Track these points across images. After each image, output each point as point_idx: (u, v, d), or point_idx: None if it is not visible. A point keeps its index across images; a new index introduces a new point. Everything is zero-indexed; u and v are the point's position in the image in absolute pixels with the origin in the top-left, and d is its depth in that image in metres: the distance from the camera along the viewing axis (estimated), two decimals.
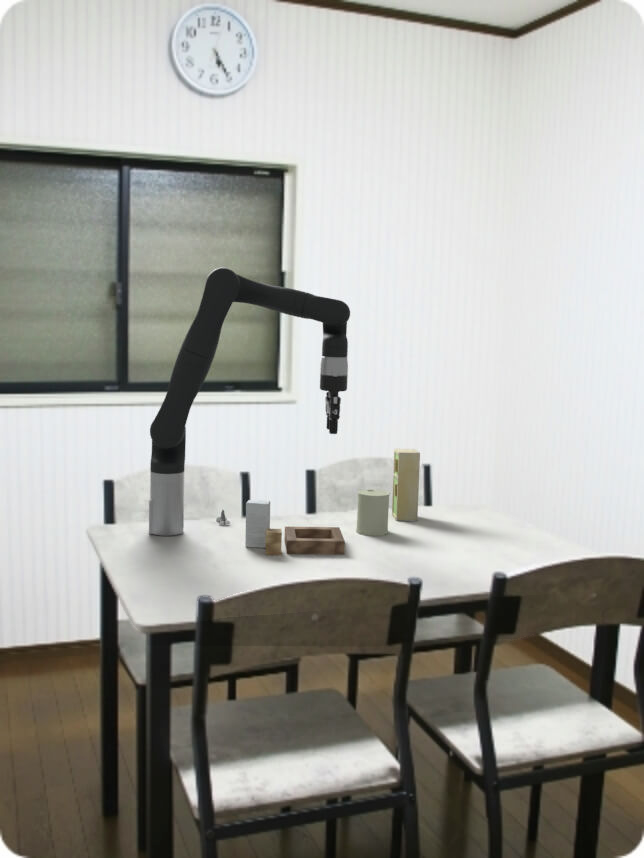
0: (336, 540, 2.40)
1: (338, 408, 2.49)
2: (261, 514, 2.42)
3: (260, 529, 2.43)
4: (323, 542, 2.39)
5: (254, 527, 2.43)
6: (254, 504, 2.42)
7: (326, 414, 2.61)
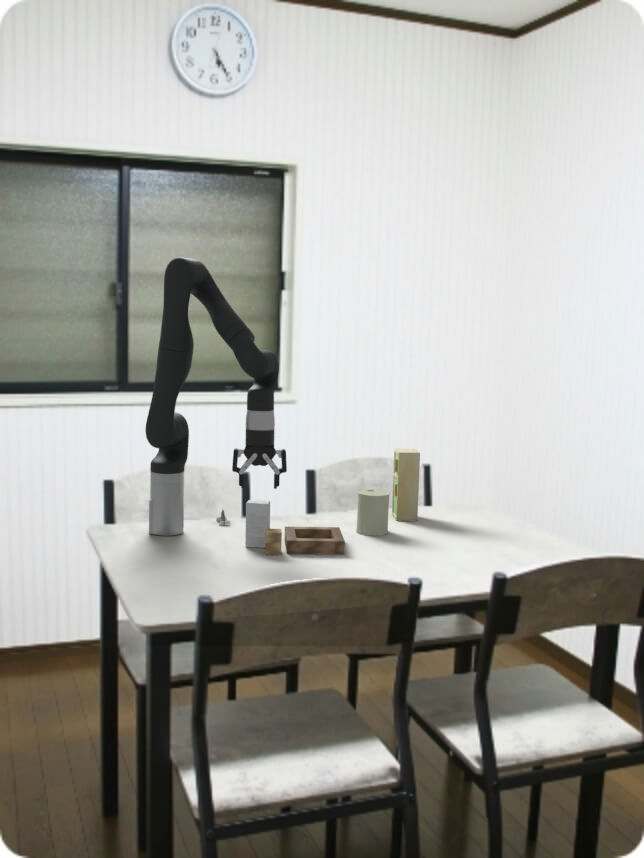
0: (336, 540, 2.40)
1: None
2: (261, 514, 2.42)
3: (260, 529, 2.43)
4: (323, 542, 2.39)
5: (254, 527, 2.43)
6: (254, 504, 2.42)
7: (239, 473, 2.42)
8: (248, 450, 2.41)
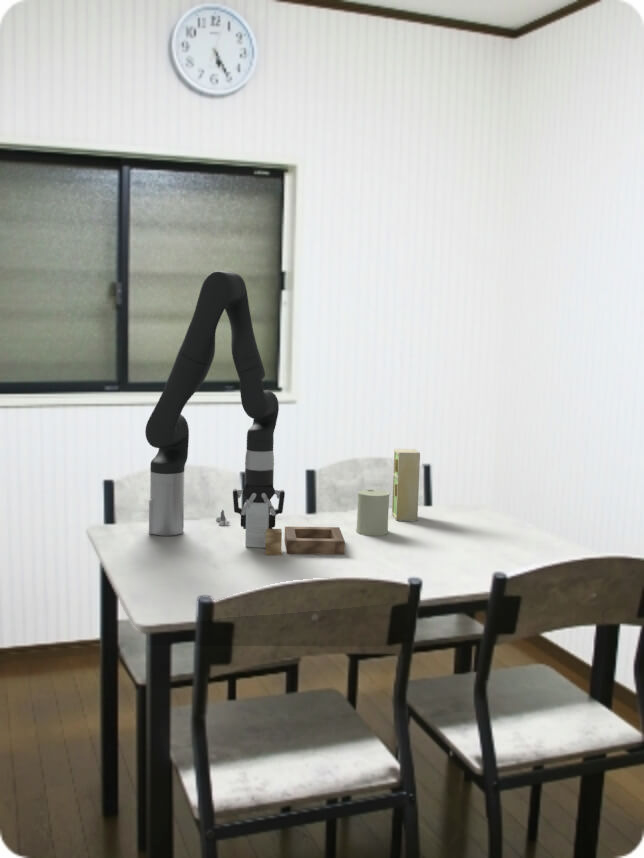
0: (336, 540, 2.40)
1: None
2: (261, 514, 2.42)
3: (260, 529, 2.43)
4: (323, 542, 2.39)
5: (254, 527, 2.43)
6: (254, 504, 2.42)
7: (241, 514, 2.43)
8: (247, 489, 2.42)
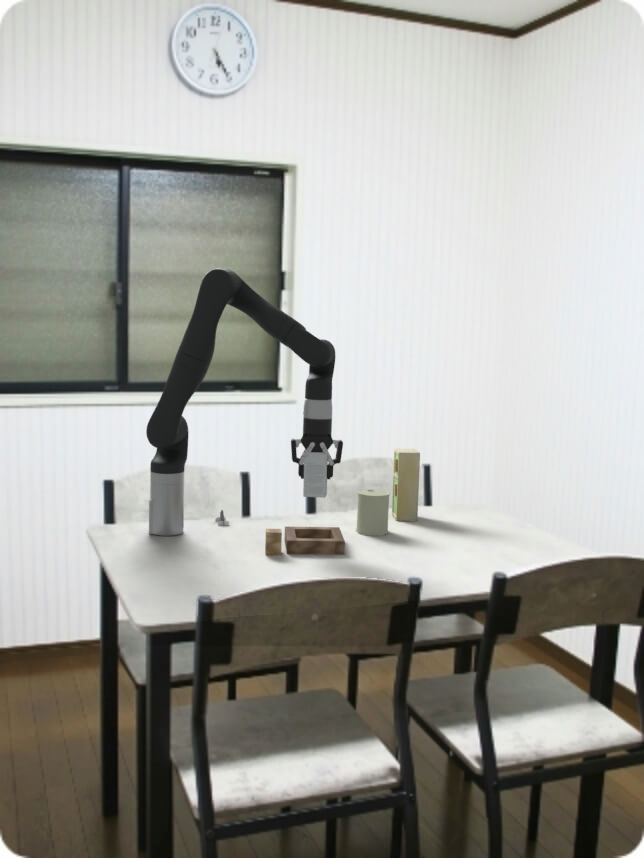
0: (336, 540, 2.40)
1: None
2: (320, 463, 2.42)
3: (318, 478, 2.42)
4: (323, 542, 2.39)
5: (312, 477, 2.42)
6: (312, 453, 2.42)
7: (299, 464, 2.42)
8: (305, 439, 2.42)
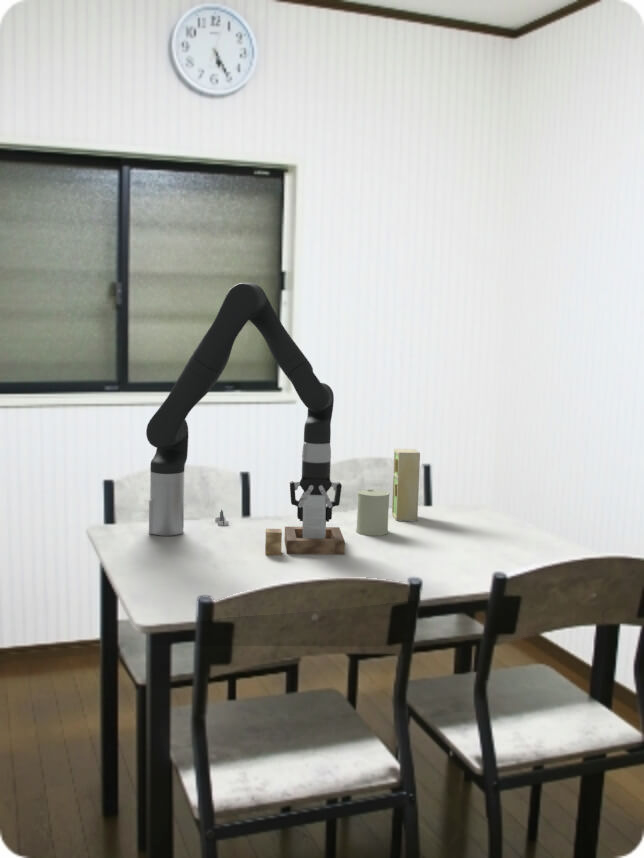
0: (336, 540, 2.40)
1: None
2: (318, 506, 2.43)
3: (317, 521, 2.44)
4: (323, 542, 2.39)
5: (311, 520, 2.44)
6: (311, 496, 2.43)
7: (298, 506, 2.44)
8: (304, 482, 2.43)
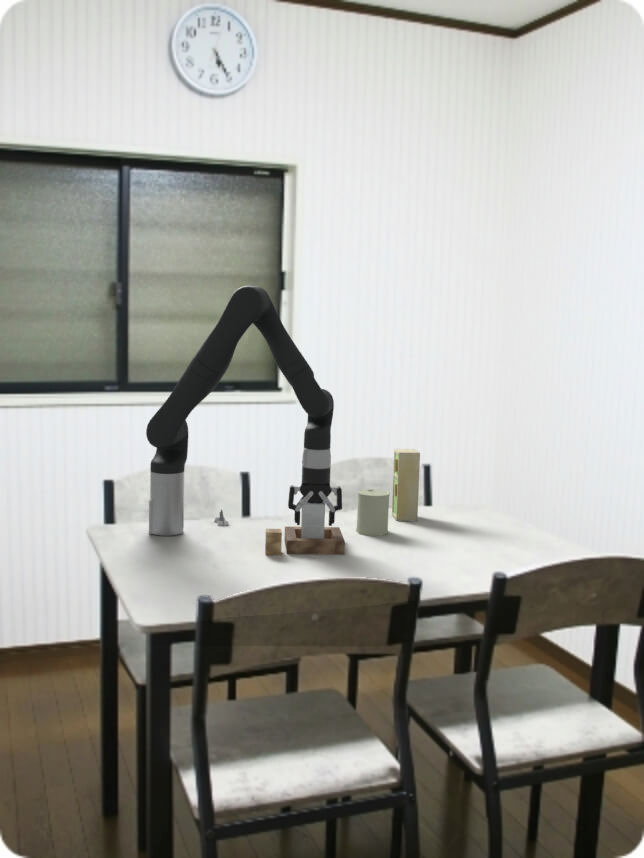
0: (336, 540, 2.40)
1: None
2: (317, 515, 2.44)
3: (316, 529, 2.44)
4: (323, 542, 2.39)
5: (310, 528, 2.44)
6: (310, 505, 2.44)
7: (295, 510, 2.44)
8: (304, 488, 2.44)
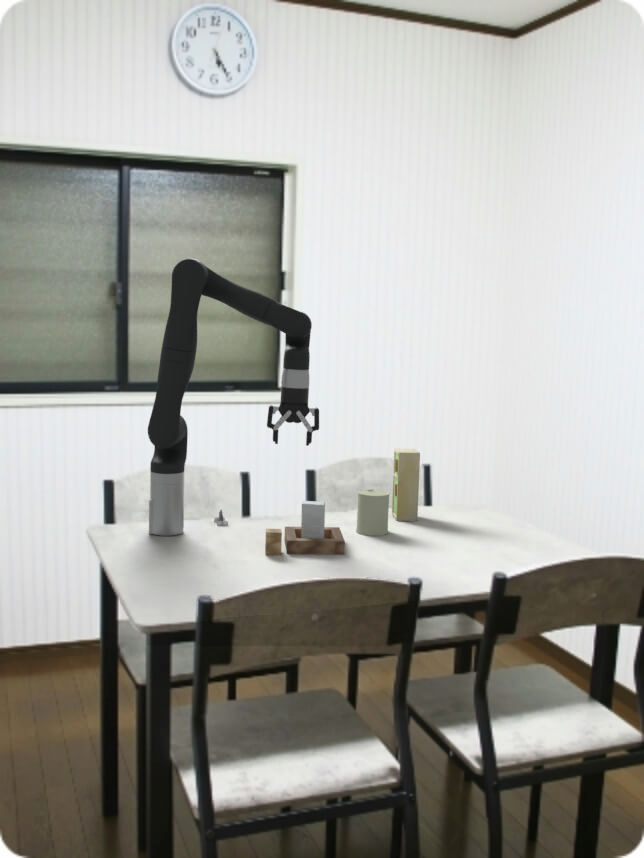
0: (336, 540, 2.40)
1: None
2: (317, 515, 2.44)
3: (316, 529, 2.44)
4: (323, 542, 2.39)
5: (310, 528, 2.44)
6: (310, 505, 2.44)
7: (273, 429, 2.52)
8: (283, 407, 2.51)
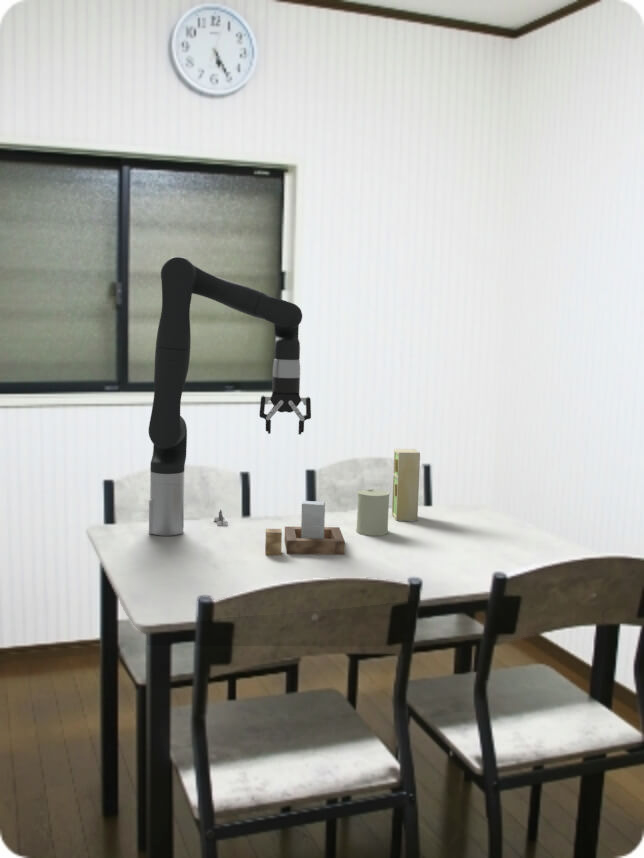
0: (336, 540, 2.40)
1: None
2: (317, 515, 2.44)
3: (316, 529, 2.44)
4: (323, 542, 2.39)
5: (310, 528, 2.44)
6: (310, 505, 2.44)
7: (266, 419, 2.55)
8: (275, 397, 2.55)
